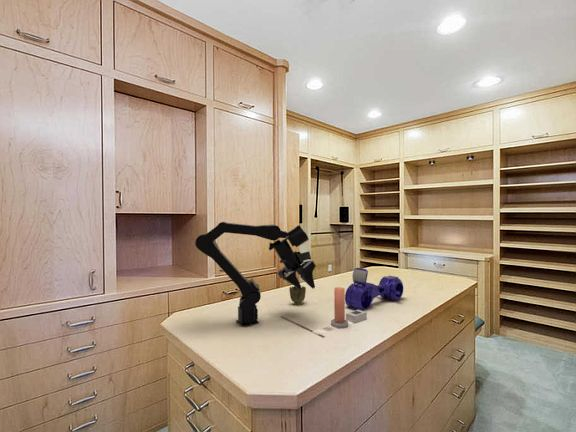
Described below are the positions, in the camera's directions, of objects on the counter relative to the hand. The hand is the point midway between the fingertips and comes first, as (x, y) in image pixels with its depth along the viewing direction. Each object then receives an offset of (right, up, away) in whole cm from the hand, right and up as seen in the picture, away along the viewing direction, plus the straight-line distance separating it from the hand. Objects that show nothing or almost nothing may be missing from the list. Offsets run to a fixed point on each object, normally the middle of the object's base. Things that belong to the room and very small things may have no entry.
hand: (307, 288), depth 111 cm
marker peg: (+11, -11, -8) cm, 18 cm away
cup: (-3, -12, +18) cm, 22 cm away
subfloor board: (+7, -12, -1) cm, 14 cm away
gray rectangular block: (+18, -11, -3) cm, 22 cm away
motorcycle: (+32, -12, +19) cm, 40 cm away
